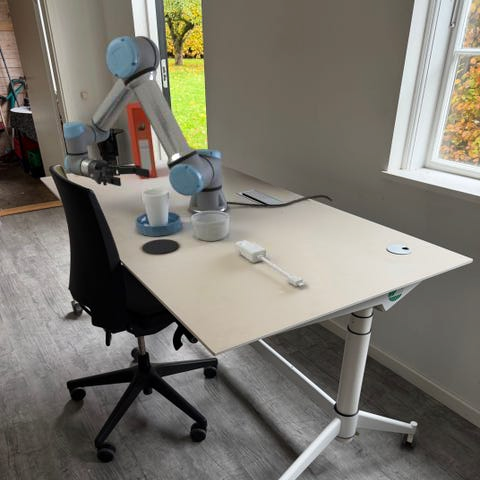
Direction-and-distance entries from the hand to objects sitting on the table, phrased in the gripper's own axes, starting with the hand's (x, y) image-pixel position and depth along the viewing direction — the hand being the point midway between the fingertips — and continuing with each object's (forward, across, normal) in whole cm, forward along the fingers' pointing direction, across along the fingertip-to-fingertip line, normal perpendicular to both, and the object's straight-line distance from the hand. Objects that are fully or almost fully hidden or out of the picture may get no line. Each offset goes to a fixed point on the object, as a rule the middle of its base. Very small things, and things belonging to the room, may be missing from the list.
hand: (134, 177), depth 167 cm
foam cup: (+10, 0, -17) cm, 19 cm away
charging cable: (+61, +4, -17) cm, 63 cm away
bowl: (+10, 0, -17) cm, 20 cm away
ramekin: (+30, -5, -17) cm, 35 cm away
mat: (+23, +12, -17) cm, 31 cm away
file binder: (-52, -52, -18) cm, 75 cm away
